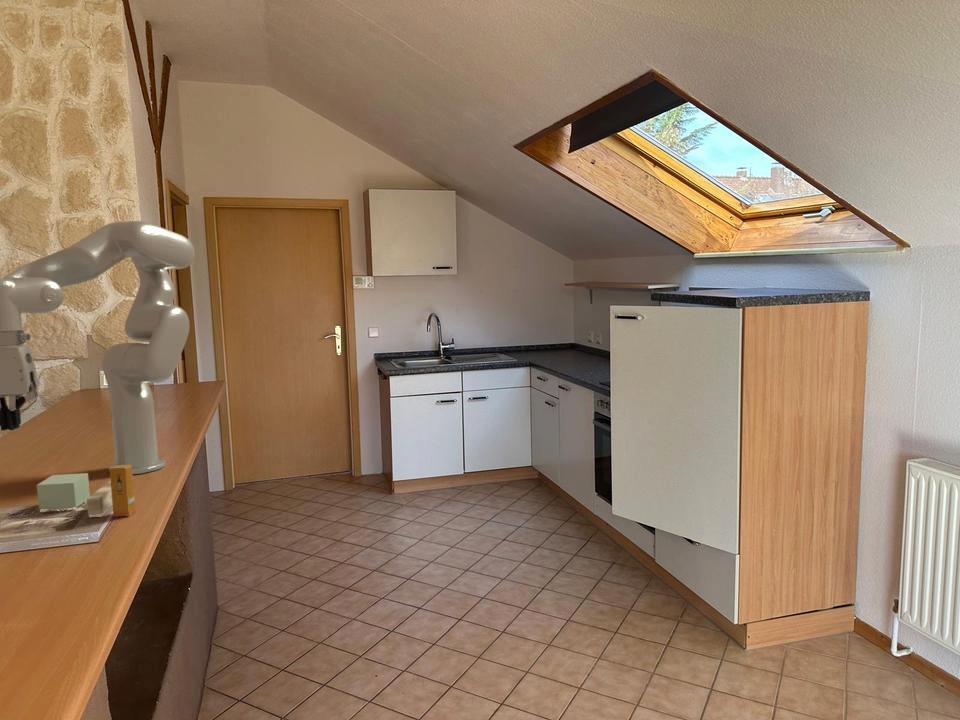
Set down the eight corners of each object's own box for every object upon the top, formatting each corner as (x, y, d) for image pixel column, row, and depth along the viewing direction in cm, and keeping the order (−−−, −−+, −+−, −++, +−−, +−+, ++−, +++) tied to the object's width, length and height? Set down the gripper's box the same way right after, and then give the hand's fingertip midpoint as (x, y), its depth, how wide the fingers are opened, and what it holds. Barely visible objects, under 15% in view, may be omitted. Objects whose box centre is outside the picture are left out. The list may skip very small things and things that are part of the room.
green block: (55, 502, 145) (52, 475, 144) (90, 499, 146) (87, 473, 145) (39, 513, 138) (36, 485, 137) (76, 511, 139) (73, 482, 138)
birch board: (121, 490, 152) (120, 472, 152) (133, 489, 153) (132, 472, 152) (88, 518, 134) (86, 498, 134) (101, 517, 135) (100, 497, 134)
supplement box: (137, 511, 138) (133, 463, 137) (129, 516, 135) (125, 468, 134) (120, 511, 138) (116, 464, 137) (112, 517, 135) (108, 468, 133)
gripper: (50, 337, 141) (58, 423, 143) (-30, 339, 139) (-20, 426, 141) (32, 340, 134) (41, 431, 136) (-52, 343, 132) (-42, 435, 134)
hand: (10, 428), depth 139 cm, fingers closed
